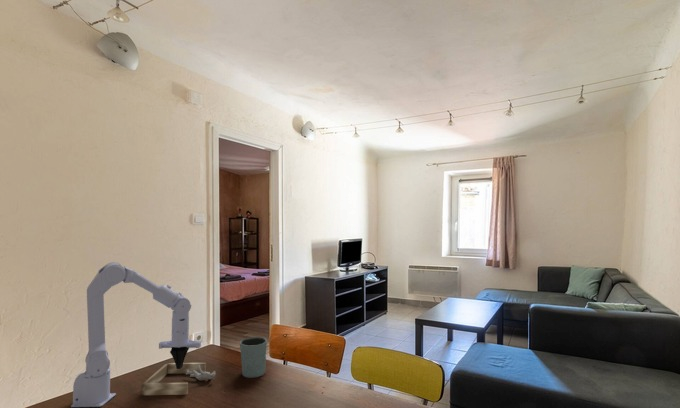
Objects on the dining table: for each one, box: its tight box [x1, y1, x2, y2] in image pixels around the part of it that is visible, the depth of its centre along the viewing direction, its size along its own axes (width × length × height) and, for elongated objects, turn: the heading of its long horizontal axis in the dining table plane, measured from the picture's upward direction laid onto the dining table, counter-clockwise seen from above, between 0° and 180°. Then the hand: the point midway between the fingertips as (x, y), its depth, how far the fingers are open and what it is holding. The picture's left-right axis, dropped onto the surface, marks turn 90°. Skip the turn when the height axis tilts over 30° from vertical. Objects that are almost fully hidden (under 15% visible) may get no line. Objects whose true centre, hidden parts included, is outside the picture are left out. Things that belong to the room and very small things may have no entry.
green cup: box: [239, 336, 268, 379], centre depth 137 cm, size 10×10×12 cm
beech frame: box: [140, 362, 207, 396], centre depth 129 cm, size 15×18×4 cm
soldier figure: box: [185, 364, 217, 382], centre depth 132 cm, size 8×5×12 cm
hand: (179, 367), depth 131 cm, fingers closed
